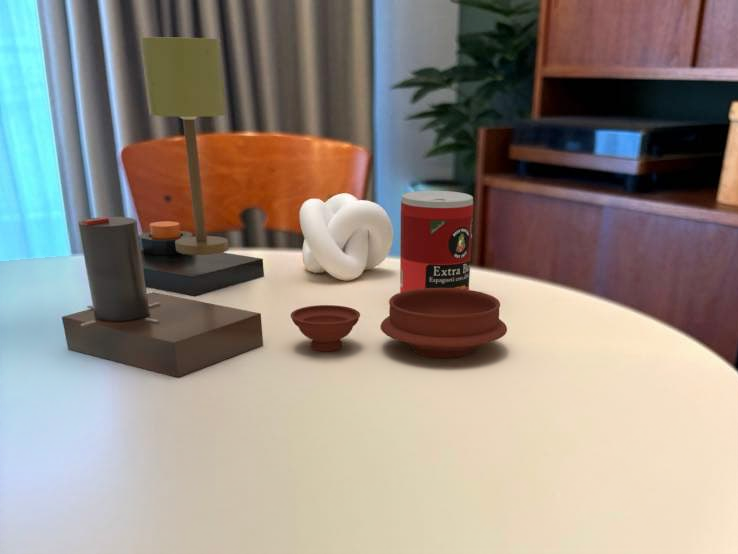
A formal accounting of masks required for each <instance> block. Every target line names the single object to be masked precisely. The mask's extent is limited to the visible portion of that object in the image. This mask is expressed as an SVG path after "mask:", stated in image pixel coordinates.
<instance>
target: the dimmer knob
mask: <svg viewBox="0 0 738 554" xmlns="http://www.w3.org/2000/svg"><path fill="white" fill-rule="evenodd" d="M77 224H78V230H79V236H80V243H81V246H82V247H81V248H82V251H83V252H82V253H83V259H84V264H85V265H84V266H85V270H86V276H87V281H88V286H89V293H90V299H91V304H92V306H93V310H94V315H95V317H96V318H97V319H100V320H104V321H129V320H135V319H139V318H143V317H145V316H147V315H148V314H149V313H150V312H149V305H148V298H147V294H148V292H147V291H148V290H147V287H146V284H145V277H144V270H143V263H142V256H141V249H140V242H139V235H140V234H139V228H138V221H137V219H135V218H133V217H125V216H99V217H91V218H85V219H81V220H79V221H78V223H77Z"/></svg>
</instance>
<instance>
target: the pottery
mask: <svg viewBox="0 0 738 554" xmlns="http://www.w3.org/2000/svg"><path fill="white" fill-rule="evenodd" d="M388 304H389V312H388V313H389V316H387V317H386V318H384V319H383V320H382V321H381V323H380V330H381V331H382V333H383V334H385V336H388V337H390V338H391V339H394V340H396V341H400V342H404V343H407V344H409V345H410V348H411V349H412V350H413V352H415V353H416V354H419V355H421V356H424V357H431V358H438V359H439V358H442V359H451V358H460V357H464V356H467V355H470V354H472V353H473V352H474V351H475V349H476V347H477V346H479V345H484V344H487V343H488V344H489V343H491V342H494V341H498V340H499V339H501V338H503V337H504V336H505V335H506V334H507V333H508V327H507V325H506V323H505V322H504V321H503V320H502V319H500V307H501V302H500V300H499V299H498V298H496V297H495V296H493V295H490V294H488V293H485V292H481V291H477V290H472V289H469V290H466V289H456V288H424V289H415V290H409V291H405V292H401V293H400V292H398V293H396V294H394V295H392V296H391V297H390V298H389V301H388ZM360 317H361V313H360V312H359V310H356V309H355V308H353V307H348V306H345V305H335V304H332V305H331V304H318V305H310V306H309V305H308V306H303V307H300V308H297V309H295V310H292V312H291V313H290V318H291V320H292V322H293V324H294V325H295V326H296V327H297V328H298V329H299V331H300V332H301V334H302V335H303V336H305V338H308V339H310V340H311V342H310V348H311V349H312V350H314V351H317V352H336V351H338V350H341V349H342V348H343V341H342V339H344V338H346V337H347V336H348V335H350V333H351V332H352V330H353V328H354V326H355V325H357V323H358V321H359V320H360Z"/></svg>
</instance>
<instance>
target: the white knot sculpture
mask: <svg viewBox="0 0 738 554" xmlns="http://www.w3.org/2000/svg"><path fill="white" fill-rule="evenodd" d="M299 224H300V225H299V226H300V229H301V232H302V235H303V238H304V240H303V244H302V248H301V249H302V250H301V256H302V263H303V265H304V267H305V268H306V269H307V270H308V272H311V273H314V274H321V273H324V272H327V273H328V274H329V275H330V276H331V277H333V278H335V279H338V280H340V281H343V282H349V281H353V280H355V279H357V278H358V277H360V276H361V275H362V274H363V272H364V271H367V270H372V269H374V268H376V267H378V266H379V265H381V264H382V263H383V262H384V261H385V260H386V259H387V257H388V256H389V253H390V251H391V249H392V246H393V240H394V228H393V224H392V221H391V218H390V217H389V215H388V213H387V212H386V211H385V209H384V208H383V207H382V206H381V205H379V204H377V203H376V202H373V201H371V200H366V199H365V200H364V199H360V200H359V199H358V198H357V197H355V196H354V195H352V194H350V193H348V192H347V193H345V192H344V193H338V194H336V195H333V196H331V197H330V198H328V199H327V200H326V201H325V202H324V201H323V200H321V199H320V198H309V199H307V200H305V201H304V202H303V203H302V205H301V206H300V208H299Z"/></svg>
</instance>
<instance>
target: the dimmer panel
mask: <svg viewBox="0 0 738 554" xmlns="http://www.w3.org/2000/svg"><path fill="white" fill-rule="evenodd" d="M147 298H148V305H149V312H150V313H149V314H148V315H147V316H145V317H143V318H139V319H135V320H129V321H104V320H100V319H97V318H96V317H95V315H94V310H93V305H90V304H89V305H87V307H86V309H85V310H81V311H78V312H74V313H70V314H67V315H63V316H61V321H62V325H63V330H64V336H65V342H66V346H67V349H68V350H71V351H75V352H78V353H82V354H85V355H90V356H93V357H97V358H102V359H105V360H108V361H109V360H110V361H113V362H116V363H120V364H125V365H127V366H128V365H129V366H133V367H137V368H141V369H145V370H148V371H152V372H155V373H160V374H165V375H167V376H171V377H176V378H180V377H183V376H186V375H188V374H191V373H193V372H197V371H198V370H201V369H203V368H206V367H210V366H212V365H215V364H217V363H219V362H222V361H224V360H228V359H231V358H233V357H236V356H239V355H241V354H244V353H246V352H249V351H251V350H253V349H257V348H259V347H262V346H264V337H263V323H262V313H261V312H256V311H250V310H246V309H241V308H236V307H229V306H225V305H220V304H215V303H210V302H205V301H200V300H195V299H188V298H186V297H185V298H184V297H181V296H180V297H179V296H174V295H170V294H164V293H160V292H154V291H153V292H149V293H148V292H147Z"/></svg>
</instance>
